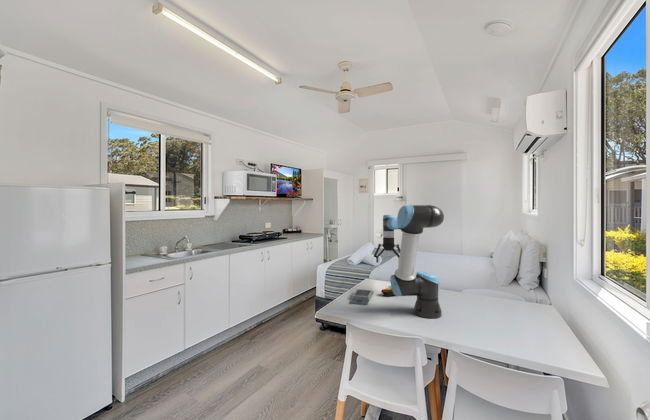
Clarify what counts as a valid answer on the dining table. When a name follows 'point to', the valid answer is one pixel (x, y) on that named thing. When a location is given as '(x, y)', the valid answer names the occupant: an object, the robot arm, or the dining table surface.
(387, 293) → the gadget
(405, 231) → the robot arm
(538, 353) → the dining table surface
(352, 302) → the grey rectangular box
